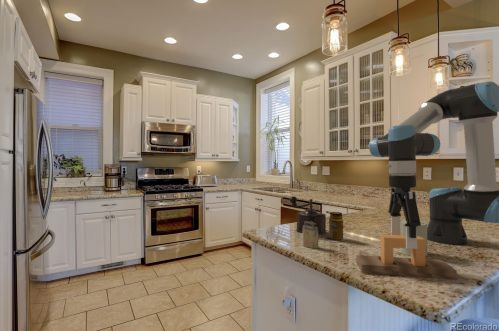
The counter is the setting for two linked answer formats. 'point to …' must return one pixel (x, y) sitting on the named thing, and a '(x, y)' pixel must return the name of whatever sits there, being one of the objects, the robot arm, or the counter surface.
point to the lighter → (310, 235)
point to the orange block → (400, 242)
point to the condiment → (335, 227)
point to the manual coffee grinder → (309, 217)
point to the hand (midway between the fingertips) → (403, 241)
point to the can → (420, 232)
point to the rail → (406, 267)
